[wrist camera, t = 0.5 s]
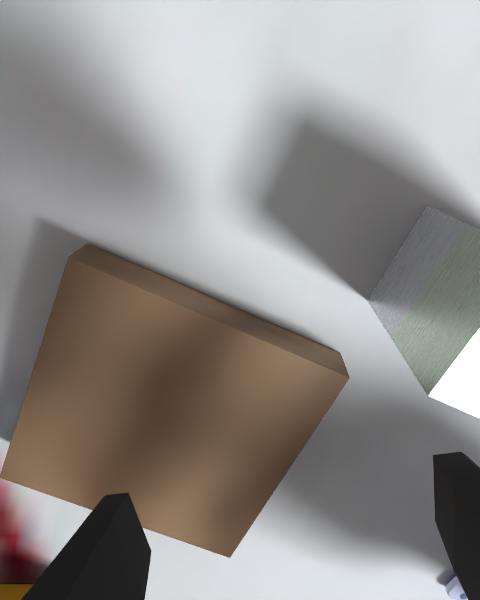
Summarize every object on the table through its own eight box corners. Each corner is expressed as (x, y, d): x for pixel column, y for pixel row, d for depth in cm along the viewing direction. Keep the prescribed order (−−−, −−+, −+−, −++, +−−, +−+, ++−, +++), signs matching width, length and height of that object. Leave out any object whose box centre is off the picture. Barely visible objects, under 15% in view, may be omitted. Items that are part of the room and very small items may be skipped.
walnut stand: (340, 353, 19) (349, 377, 17) (231, 523, 24) (229, 557, 22) (88, 243, 18) (68, 257, 16) (20, 447, 22) (-1, 477, 20)
